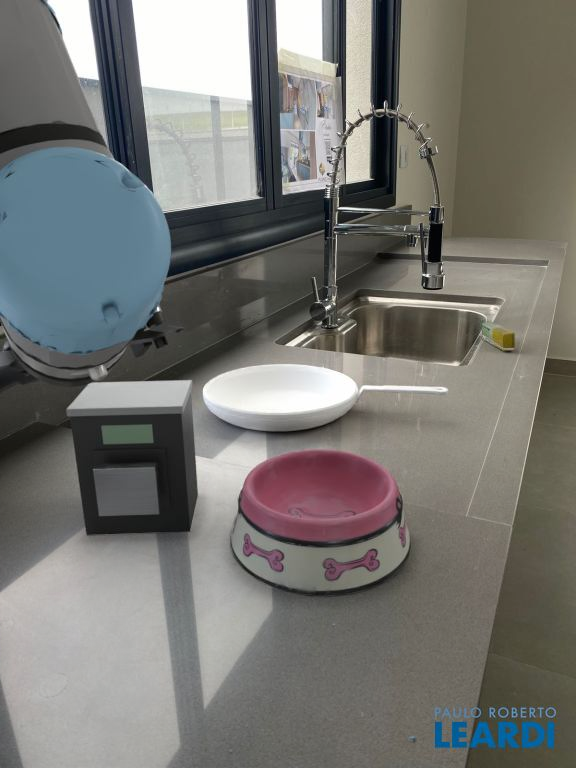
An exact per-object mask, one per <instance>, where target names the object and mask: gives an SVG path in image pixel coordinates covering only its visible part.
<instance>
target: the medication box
mask: <svg viewBox="0 0 576 768" xmlns="http://www.w3.org/2000/svg"><path fill="white" fill-rule="evenodd" d="M482 335H484V336H486V337H488V338H489V339H491V340H492V341H494V342H496V343H497V344H498V345H500V346H501V347H503V348H514V347H515V348H516V338H515V337H516V334H515V332H514V331H512V330H510V329H508V328H506V327H503V326H502V325H499V324H498V323H495V322H493V321H485V322H481V338H482V340H484V341H486V342H488V343H489V344H491V345H492V346H494V347H496V348H498V349H499V350H502V351H503V352H509V351H511V350H503V349H501V348H499V347H498V346H496V345H494V344H493V343H491V342H489V341H488V340H486V339H484V338H483V337H482Z"/></svg>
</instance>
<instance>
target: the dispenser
mask: <svg viewBox="0 0 576 768" xmlns="http://www.w3.org/2000/svg"><path fill="white" fill-rule="evenodd" d="M192 389H193V380H192V379H187V380H185V379H183V380H181V379H179V380H145V381H137V380H136V381H102V382H101V381H98V382H97V381H95V382H93V383H90V384H87V385H85V387H84V388H83V390H82V391H81V392H80V393H79V394H78V395H77V396H76V397H75V398H74V400H73V401H72V402H71V403H70V404H69V406H67V408H66V409H65V410H66V416H67V417H69V421H70V426H71V427H70V429H71V434H72V442H73V449H74V456H75V465H76V470H77V478H78V485H79V493H80V498H81V499H80V500H81V507H82V514H83V520H84V521H83V522H84V529H85V535H86V536H104V535H105V536H107V535H136V534H137V535H140V534H141V535H142V534H169V533H170V534H171V533H173V534H174V533H191V530H192V525H193V522H194V521H193V520H194V517H195V513H196V511H195V510H196V507H197V503H198V502H197V501H198V497H199V487H198V475H197V474H198V473H197V460H196V444H195V432H194V431H195V430H194V415H193V401H192ZM148 462H157V468H158V479H159V490H160V501H161V510H160V513H159V514H151V515H119V516H99V512H98V505H97V497H96V489H95V481H94V473H93V468H94V467H95V465H96V464H112V463H148Z"/></svg>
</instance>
